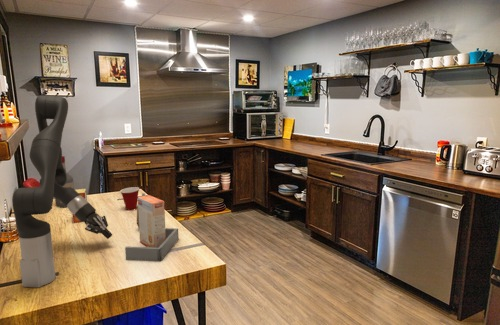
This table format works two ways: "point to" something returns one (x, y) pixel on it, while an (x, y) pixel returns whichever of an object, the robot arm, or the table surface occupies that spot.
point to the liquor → (68, 184)
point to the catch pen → (151, 252)
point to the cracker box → (151, 221)
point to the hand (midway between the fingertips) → (110, 237)
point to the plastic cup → (130, 197)
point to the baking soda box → (84, 195)
